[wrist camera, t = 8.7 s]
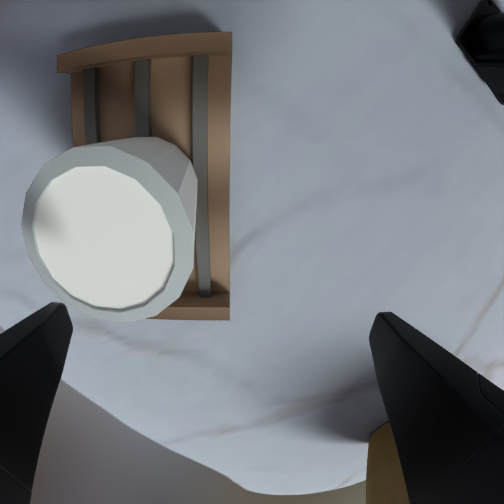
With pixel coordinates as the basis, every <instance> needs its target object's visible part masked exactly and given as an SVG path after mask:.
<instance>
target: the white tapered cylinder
mask: <svg viewBox="0 0 504 504" xmlns="http://www.w3.org/2000/svg"><path fill="white" fill-rule="evenodd" d="M197 182H198V179H197V177H196V174H195V171H194V169H193V166H192V164H191V161H190V160H189V158H188V157H187V156H186V155H185V154H184V153H183V152H182V151H181V150H180V149H179V148H178V147H177V146H176V145H174V144H172V143H170V142H167V141H165V140H163V139H160V138H158V137H134V138H127V139H120V140H113V141H107V142H101V143H95V144H89V145H84V146H79V147H74V148H71V149H69V150H68V151H66V152H64V153H63V154H61V155H59V156H57V157H56V158H54V159H52V160H51V161H49V162H48V163H46V164H44V165H43V167H42V168H41V170H40V171H39V173H38V174H37V176H36V177H35V179H34V181H33V182H32V184H31V185H30V187H29V189H28V190H27V192H26V197H25V203H24V209H23V216H22V224H21V225H22V230H23V235H24V240H25V244H26V249H27V253H28V257H29V258H30V260H31V262H32V264H33V266H34V267H35V269H36V271H37V272H38V274H39V276H40V277H41V279H42V281H43V282H44V284H45V285H46V286H47V287H48V288H49V289H50V290H51V291H52V292H53V293H54V294H56V295H57V296H58V297H59V298H60V299H61V300H62V301H63V302H64V303H66V304H67V305H68V306H69V307H71V308H74V309H76V310H78V311H80V312H82V313H84V314H86V315H88V316H91V317H93V318H95V319H98V320H106V321H114V322H123V323H129V322H133V321H137V320H141V319H145V318H149V317H153V316H156V315H158V314H159V313H160V312H161V311H163V310H164V309H165V308H166V307H168V306H169V305H170V304H172V303H173V302H174V301H175V300H177V299H178V298H179V297H180V295H181V293H182V291H183V289H184V287H185V285H186V283H187V280H188V278H189V276H190V274H191V272H192V270H193V266H194V242H195V222H196V205H197Z"/></svg>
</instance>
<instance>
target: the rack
mask: <svg viewBox="0 0 504 504" xmlns="http://www.w3.org/2000/svg"><path fill="white" fill-rule="evenodd" d="M231 65H232V32H199V33H182V34H170V35H160V36H151V37H143V38H136V39H129V40H123V41H117V42H112V43H106V44H101V45H97V46H92V47H87V48H83V49H79V50H75V51H71V52H67V53H64V54H60V55H57V73H70V74H71V115H72V133H73V146H74V147H79V146H84V145H89V144H95V143H101V142H107V141H113V140H120V139H127V138H134V137H158V138H160V139H163V140H165V141H167V142H170V143H172V144H174V145H176V146H177V147H178V148H179V149H180V150H181V151H182V152H183V153H184V154H185V155H186V156H187V157H188V158H189V160H190V161H191V164H192V166H193V169H194V171H195V174H196V177H197V179H198V182H197V205H196V222H195V242H194V266H193V270H192V272H191V274H190V276H189V278H188V280H187V283H186V285H185V287H184V289H183V291H182V293H181V295H180V297H179V298H178V299H177V300H175V301H174V302H173V303H172V304H170V305H169V306H168V307H166V308H165V309H164V310H163V311H161V312H160V313H159V314H158V315H156V316H153V317H149V318H145V319H170V320H230V273H229V172H230V105H231Z"/></svg>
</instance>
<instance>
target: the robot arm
mask: <svg viewBox="0 0 504 504" xmlns="http://www.w3.org/2000/svg"><path fill="white" fill-rule="evenodd" d="M488 3H489V4H488ZM463 40H464V43H463ZM457 44H458V45H459V47H460V48H461V49H462V50H463V51H464V53H465V54H466V55H467V57H468V58H469V59H470V60H471V62H472V63H473V64H474V66H475V67H476V69H477V70H478V71H479V73H480V74H481V76H482V77H483V78H484V80H485V81H486V83H487V84H488V86H489V87H490V89H491V90H492V91H493V93H494V94H495V96H496V97H497V99H498V100H499V102H500V103H501V104H502V105H504V12H501V11H500V10H499V9H498V7H497V6H496V5H495V4H494V2H493V1H492V0H481V2H480V3H479V5H478V6H477V8H476V10H475V11H474V13H473V14H472V16H471V17H470V18H469V20H468V21H467V23H466V24H465V26H464V27H463V29H462V30H461V32H460V33H459V35H458V36H457ZM72 332H73V326H72V322H71V319H70V316H69V314H68V311H67V308H66V306H65V304H63V303H59V302H51V303H50V304H48V305H46V306H45V307H43V308H41V309H40V310H38V311H36V312H35V313H33V314H31V315H30V316H28V317H27V318H25V319H23V320H22V321H20V322H19V323H17V324H15V325H14V326H12V327H11V328H9V329H7V330H6V331H4V332H3V333H1V334H0V504H30V499H31V493H32V492H31V491H32V486H33V481H34V476H35V471H36V466H37V462H38V457H39V453H40V449H41V444H42V440H43V436H44V433H45V429H46V425H47V421H48V418H49V414H50V411H51V408H52V404H53V401H54V398H55V395H56V391H57V388H58V385H59V382H60V379H61V376H62V372H63V368H64V364H65V360H66V356H67V352H68V348H69V344H70V340H71V336H72ZM369 342H370V347H371V351H372V356H373V361H374V366H375V371H376V376H377V381H378V385H379V389H380V392H381V396H382V399H383V402H384V406H385V409H386V412H387V416H388V419H389V423H390V426H391V430H392V434H393V437H394V441H395V445H396V448H397V452H398V456H399V460H400V464H401V468H402V472H403V476H404V481H405V485H406V489H407V494H408V498H409V503H410V504H504V390H502V389H500V388H499V387H497V386H496V385H495V384H493V383H492V382H490V381H489V380H487V379H486V378H485V377H483V376H482V375H481V374H478V373H477V372H476V371H475V370H474V369H472V368H471V367H469V366H468V365H467V364H465V363H464V362H462V361H461V360H460V359H458V358H457V357H455V356H454V355H453V354H451V353H450V352H448V351H447V350H446V349H444V348H443V347H441V346H440V345H438V344H437V343H436V342H434V341H433V340H431V339H430V338H428V337H427V336H426V335H424V334H423V333H421V332H420V331H418V330H417V329H415V328H414V327H413V326H411V325H410V324H408V323H407V322H405V321H404V320H402V319H401V318H399V317H398V316H397V315H395V314H394V313H392V312H379V313H378V314H377V315H376V317H375V320H374V323H373V326H372V329H371V331H370V335H369Z"/></svg>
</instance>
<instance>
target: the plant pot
mask: <svg viewBox="0 0 504 504" xmlns="http://www.w3.org/2000/svg"><path fill="white" fill-rule="evenodd" d="M366 504H410V503H409V498H408V494H407V489H406V485H405V481H404V476H403V472H402V468H401V464H400V460H399V456H398V452H397V448H396V445H395V441H394V437H393V434H392V430H391V426H390V423H389V422H388V423H386V424H384V425H382V426H381V427H379V428H378V429H377V430H376V431H374V432H373V434H372V435H371V436H370V439H369V447H368V459H367V474H366Z"/></svg>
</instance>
